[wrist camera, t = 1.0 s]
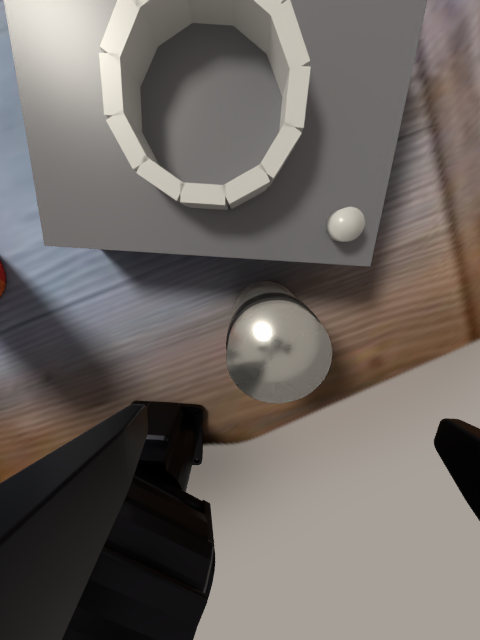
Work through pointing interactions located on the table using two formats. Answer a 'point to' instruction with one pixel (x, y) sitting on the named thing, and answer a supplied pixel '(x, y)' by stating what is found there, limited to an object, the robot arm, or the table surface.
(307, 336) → the lens
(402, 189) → the table surface
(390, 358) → the table surface
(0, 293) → the paper cup
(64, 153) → the camera body
